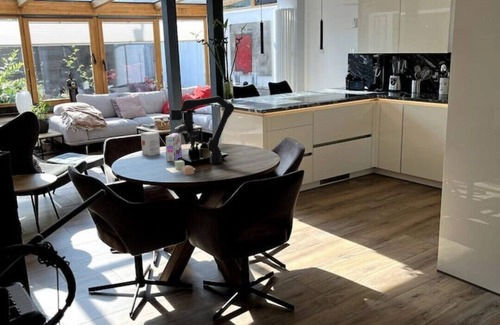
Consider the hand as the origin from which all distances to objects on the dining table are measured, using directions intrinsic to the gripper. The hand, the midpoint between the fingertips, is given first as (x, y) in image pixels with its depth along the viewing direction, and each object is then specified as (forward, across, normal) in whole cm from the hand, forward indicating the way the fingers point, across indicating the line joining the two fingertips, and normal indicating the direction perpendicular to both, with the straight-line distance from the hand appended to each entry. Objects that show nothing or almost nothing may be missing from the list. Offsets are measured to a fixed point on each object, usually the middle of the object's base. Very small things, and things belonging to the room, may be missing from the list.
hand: (189, 145), depth 289 cm
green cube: (+12, +8, -10) cm, 17 cm away
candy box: (+12, -18, -4) cm, 22 cm away
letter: (+12, +9, -10) cm, 18 cm away
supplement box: (+12, -43, -12) cm, 46 cm away
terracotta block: (+12, +21, -10) cm, 26 cm away
